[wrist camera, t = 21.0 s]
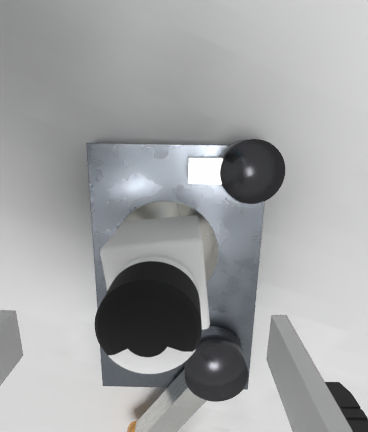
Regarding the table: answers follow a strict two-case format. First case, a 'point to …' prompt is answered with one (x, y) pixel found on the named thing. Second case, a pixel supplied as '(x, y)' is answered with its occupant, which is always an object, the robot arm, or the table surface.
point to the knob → (242, 170)
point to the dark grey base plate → (174, 207)
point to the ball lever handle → (198, 382)
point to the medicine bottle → (153, 294)
